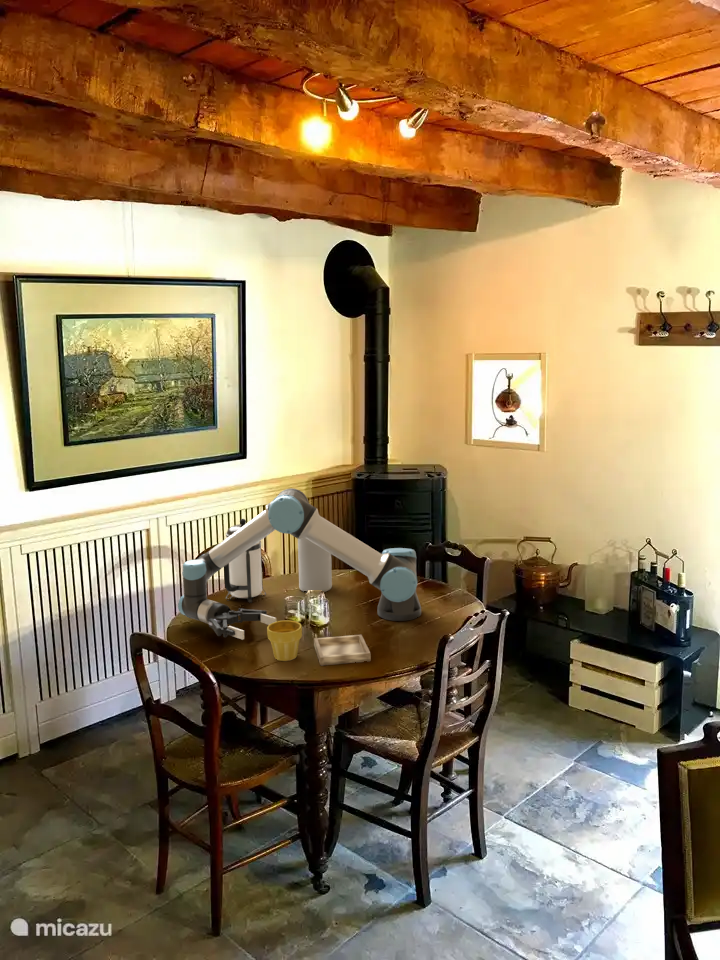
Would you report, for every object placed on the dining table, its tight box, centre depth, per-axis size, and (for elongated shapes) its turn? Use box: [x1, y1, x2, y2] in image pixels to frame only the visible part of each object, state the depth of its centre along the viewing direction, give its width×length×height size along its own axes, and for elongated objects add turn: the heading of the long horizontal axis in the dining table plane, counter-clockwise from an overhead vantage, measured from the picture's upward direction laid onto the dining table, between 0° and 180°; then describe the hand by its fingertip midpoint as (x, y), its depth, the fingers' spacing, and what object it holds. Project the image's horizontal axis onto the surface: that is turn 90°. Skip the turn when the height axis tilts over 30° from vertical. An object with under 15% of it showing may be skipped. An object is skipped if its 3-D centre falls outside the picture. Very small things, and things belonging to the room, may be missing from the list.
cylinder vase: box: [297, 538, 333, 593], centre depth 295 cm, size 12×12×25 cm
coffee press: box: [223, 518, 267, 604], centre depth 284 cm, size 17×16×30 cm
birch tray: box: [313, 634, 372, 666], centre depth 235 cm, size 15×15×2 cm
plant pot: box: [266, 619, 303, 662], centre depth 232 cm, size 10×10×10 cm
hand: (259, 628), depth 239 cm, fingers open, 13 cm apart
